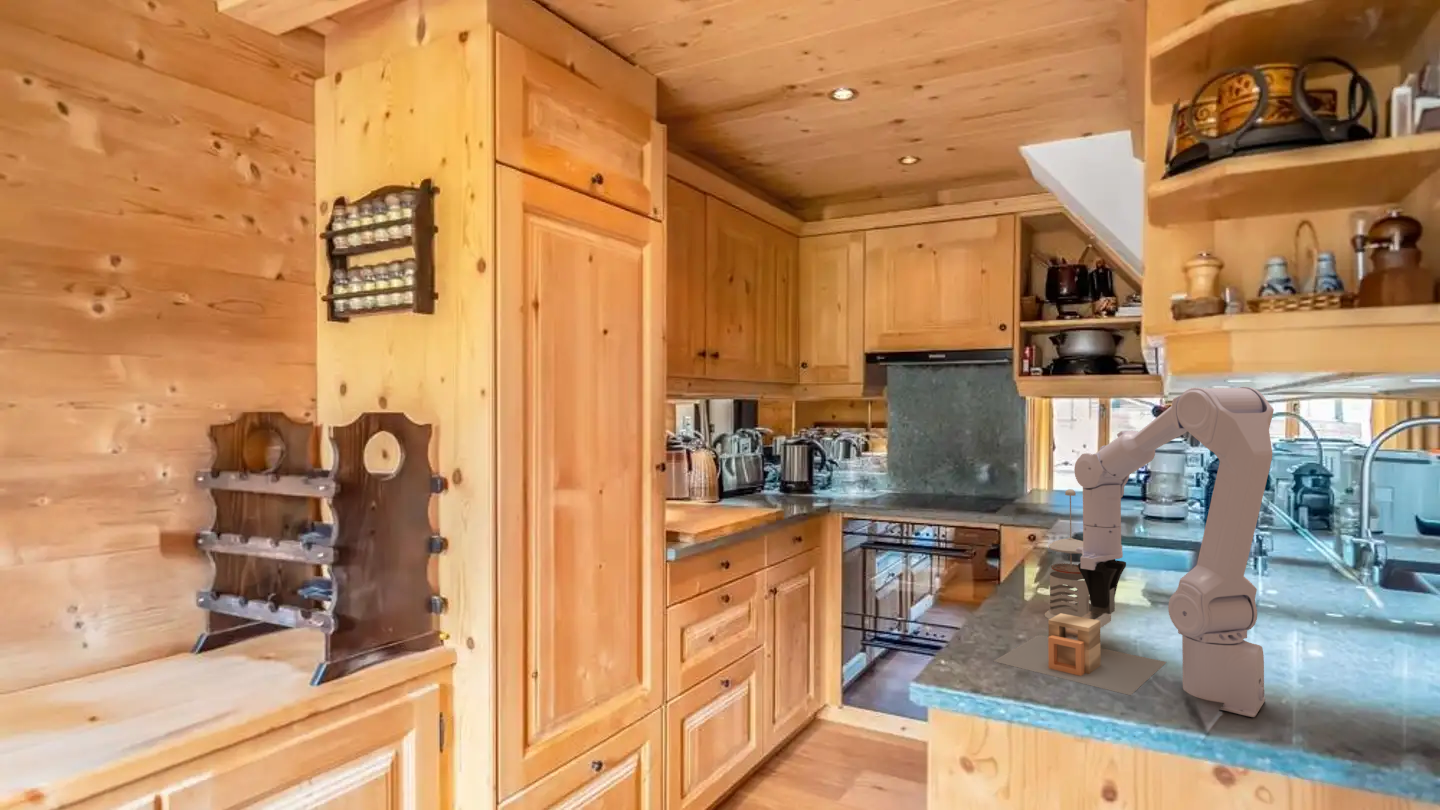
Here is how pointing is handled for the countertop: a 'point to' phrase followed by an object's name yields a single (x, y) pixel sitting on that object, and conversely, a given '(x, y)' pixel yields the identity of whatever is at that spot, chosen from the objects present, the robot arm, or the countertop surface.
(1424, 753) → the countertop surface
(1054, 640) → the spacer
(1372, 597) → the countertop surface
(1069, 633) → the shaft
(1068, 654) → the bearing block
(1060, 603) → the french press
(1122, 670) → the mounting plate
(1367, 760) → the countertop surface
